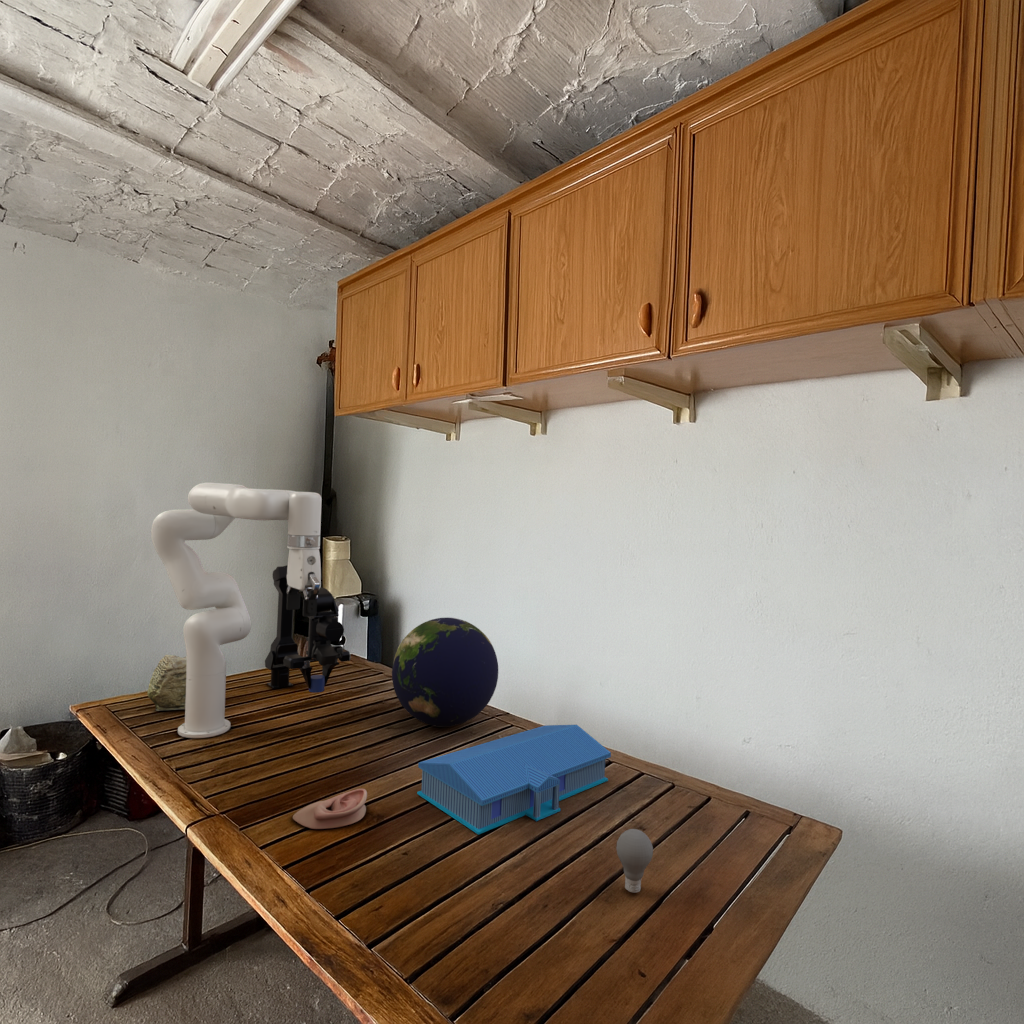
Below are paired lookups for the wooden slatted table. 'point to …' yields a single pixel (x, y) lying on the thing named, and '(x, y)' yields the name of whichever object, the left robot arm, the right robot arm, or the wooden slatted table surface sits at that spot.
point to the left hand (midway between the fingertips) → (301, 612)
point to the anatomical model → (334, 811)
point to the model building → (514, 776)
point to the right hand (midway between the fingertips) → (316, 687)
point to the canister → (317, 683)
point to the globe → (445, 672)
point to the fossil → (169, 683)
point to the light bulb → (634, 857)
